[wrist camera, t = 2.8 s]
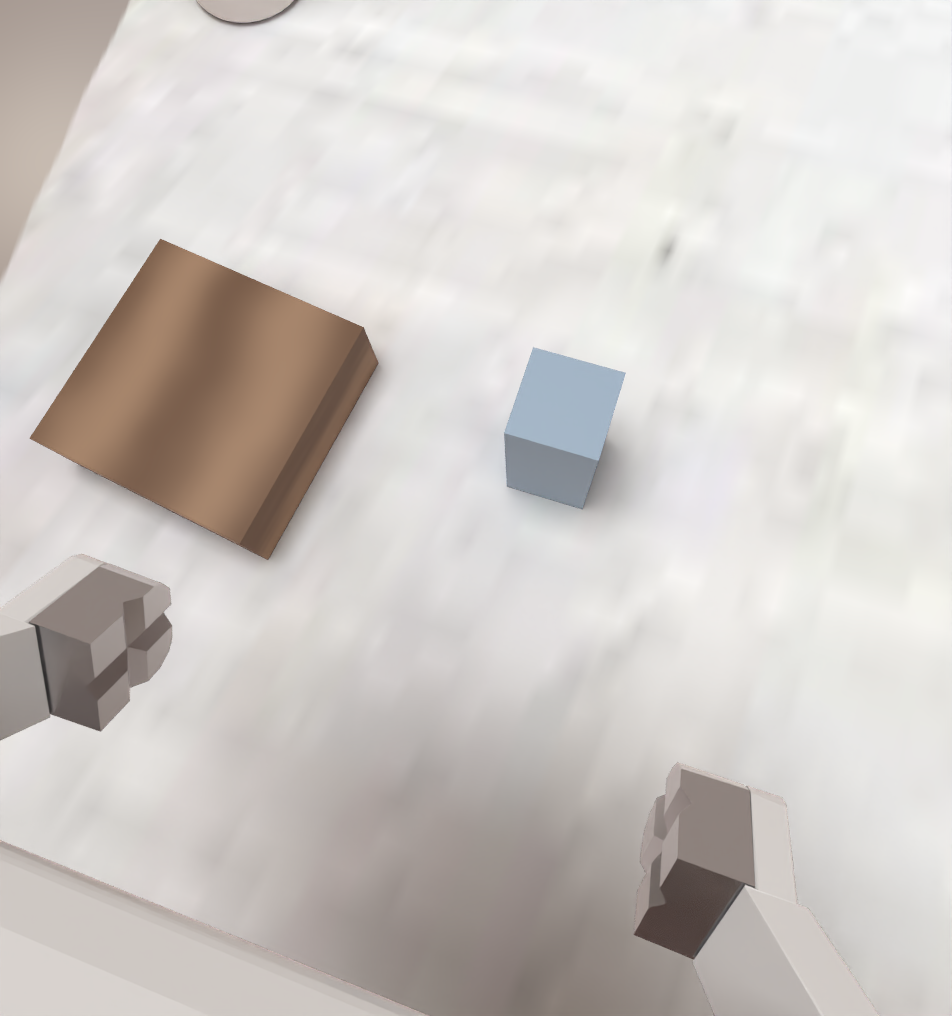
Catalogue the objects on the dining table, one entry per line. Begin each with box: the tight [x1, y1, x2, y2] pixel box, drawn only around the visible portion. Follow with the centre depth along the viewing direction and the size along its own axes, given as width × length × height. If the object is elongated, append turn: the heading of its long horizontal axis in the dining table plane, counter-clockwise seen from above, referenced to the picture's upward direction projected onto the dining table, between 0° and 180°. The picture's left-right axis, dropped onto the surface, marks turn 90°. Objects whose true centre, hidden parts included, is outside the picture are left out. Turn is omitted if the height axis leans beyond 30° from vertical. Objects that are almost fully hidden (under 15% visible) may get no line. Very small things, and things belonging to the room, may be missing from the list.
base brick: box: [30, 239, 378, 560], centre depth 38 cm, size 12×12×4 cm
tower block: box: [504, 347, 626, 509], centre depth 35 cm, size 4×4×8 cm
